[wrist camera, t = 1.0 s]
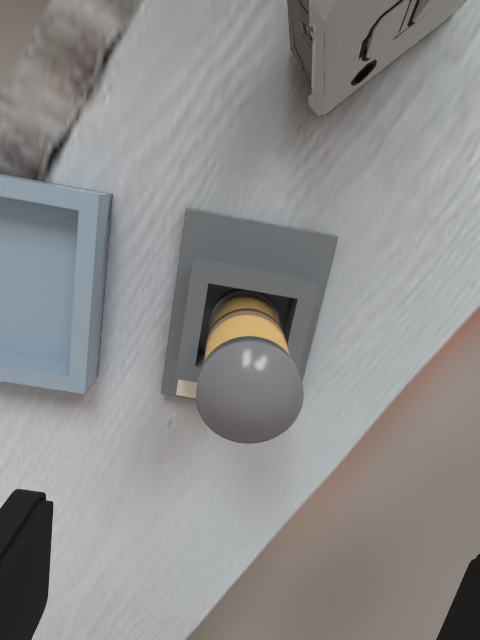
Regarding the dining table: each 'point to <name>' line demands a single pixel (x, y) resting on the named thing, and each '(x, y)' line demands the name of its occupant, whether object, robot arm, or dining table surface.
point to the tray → (51, 282)
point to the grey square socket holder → (243, 286)
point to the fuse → (247, 371)
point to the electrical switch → (356, 40)
